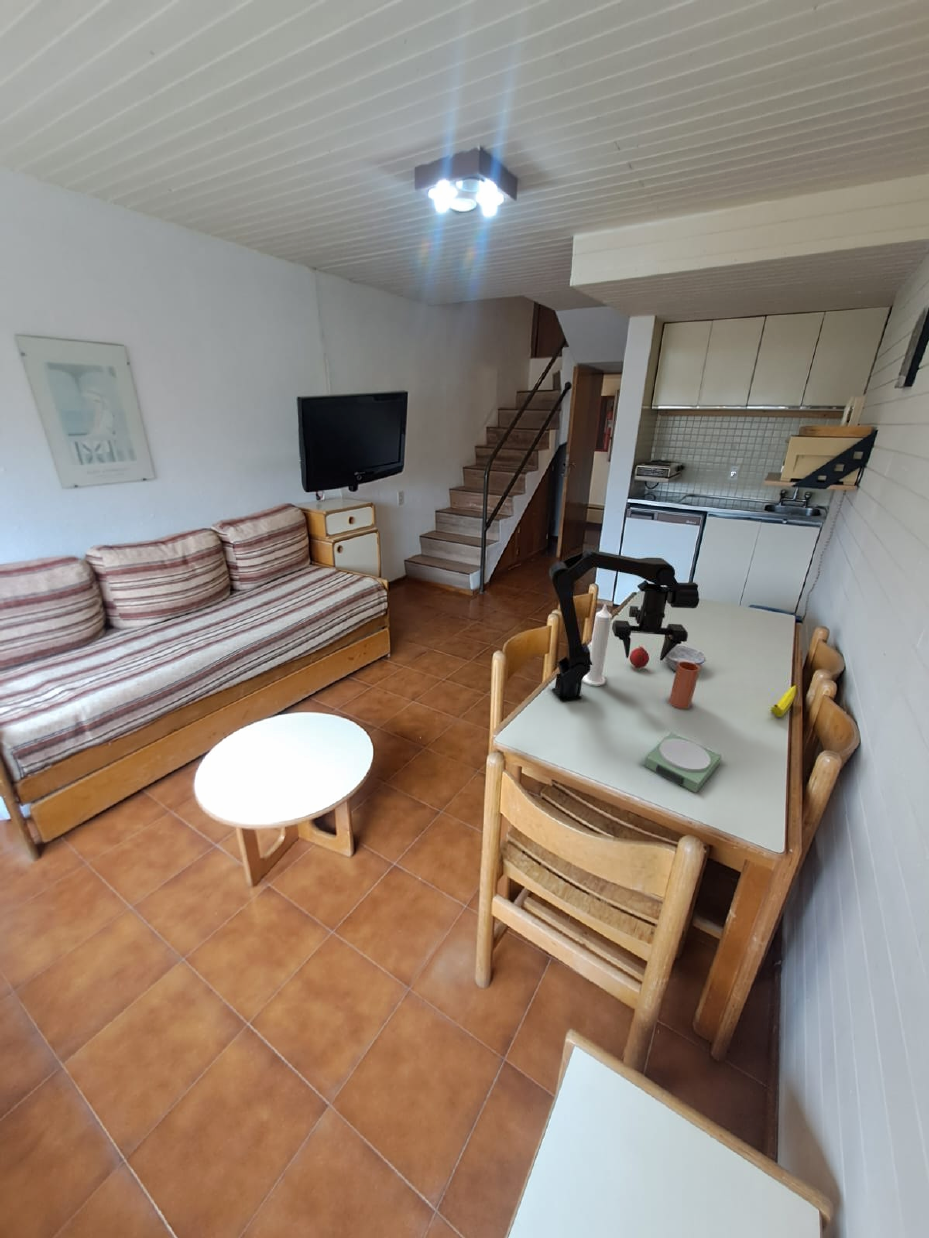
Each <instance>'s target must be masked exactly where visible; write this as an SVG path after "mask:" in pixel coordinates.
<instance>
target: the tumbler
mask: <svg viewBox="0 0 929 1238" xmlns="http://www.w3.org/2000/svg"><path fill="white" fill-rule="evenodd" d="M700 669H701V667H700V666H698V665H696V664H694V663H691V662H685V661H682V662H679V663H678V665H677V669H676V670H675V673H674V678H673V681H672V686H671V691H670V695H669V700H668V701H669V704H670V705H671V706H673V707H675V708H677V709H682V710H687V709H690V707H691V706H692V705H691V704H692V700H693V697H694V693H695V689H696V685H697V682H698V677H699V673H700V671H701V670H700Z"/></svg>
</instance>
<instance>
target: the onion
mask: <svg viewBox="0 0 929 1238" xmlns="http://www.w3.org/2000/svg"><path fill="white" fill-rule="evenodd" d="M629 661H630V664H631V665H633V667H634V668H635V669H637V670H638V669H641V668H644V667H645V666H647V665H648V664H649V661H650V655H649V653H648V651H647V650H646V649H645V648H644V647H643V646H642V645H639V646H638V647H636V648H635V649H633V650H632V651H630V653H629Z"/></svg>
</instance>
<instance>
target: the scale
mask: <svg viewBox="0 0 929 1238" xmlns="http://www.w3.org/2000/svg"><path fill="white" fill-rule="evenodd" d="M721 758H722V754H720V753H718V752H715V751H714V750H711V749H708V748H707V747H705V746H702V745H700V744H698V743H696V742H693V741H692V740H689V739H687V738H685V737H683V736H680V735H678V734H676V733H674V732H672V731H671V732H670V733H669V734H668V735H667V736H666V737H665V738H664V739H663V740H662V741H661V742H660V743H658V745H657V746H656V747H654V748H653V749H652V750H651V751H650V752H649V753H648V754H647V755H646V756H645V759H644V763H643V766H644V767H646V768H648V769H649V770H651V771H654V772H655V773H657V774H659V775H661V776H663V777H665V778H667V779H669V780H670V781H673V782H674V783H676V784H678V785H681V786H682V787H684V788H685V789H688V790H690V791H691V792H693V793H697V792H698V791H699V789H701V787H702V786H703V785H704V784H705V782H706V781H707V780H708V778H709V777H710V775H712V773H713V772H714V771H715V770H716V768H717V767H718V766H719V765H720V762H721Z"/></svg>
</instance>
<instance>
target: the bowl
mask: <svg viewBox="0 0 929 1238" xmlns="http://www.w3.org/2000/svg"><path fill="white" fill-rule="evenodd" d="M664 660H665V661H666V663H667V666H668V667H669V668H670V669H672V670H673V671H676V669H677V665H678V663H679V662H682V661H685V662H691V663H694V664H696V665H698V666H699V667H700V666H702V665H703V664H704V663H705V662H707V659H706V657H705V655H704V653H702V652H701V651H699V650H696V649H693V648H692V647H688V646H683V645H676V646H675V647H674V648H673V649H672V650H671V651H670V652H669V653H668V654H667V655H666V657H665V658H664Z"/></svg>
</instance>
